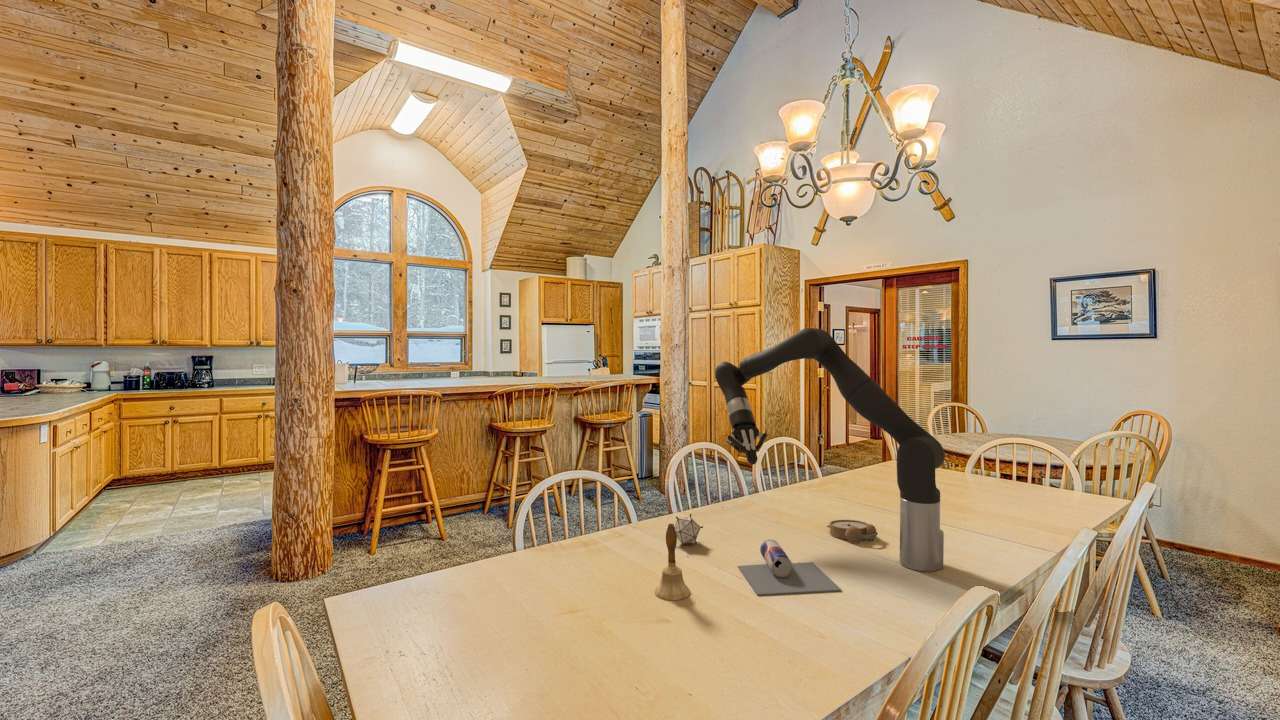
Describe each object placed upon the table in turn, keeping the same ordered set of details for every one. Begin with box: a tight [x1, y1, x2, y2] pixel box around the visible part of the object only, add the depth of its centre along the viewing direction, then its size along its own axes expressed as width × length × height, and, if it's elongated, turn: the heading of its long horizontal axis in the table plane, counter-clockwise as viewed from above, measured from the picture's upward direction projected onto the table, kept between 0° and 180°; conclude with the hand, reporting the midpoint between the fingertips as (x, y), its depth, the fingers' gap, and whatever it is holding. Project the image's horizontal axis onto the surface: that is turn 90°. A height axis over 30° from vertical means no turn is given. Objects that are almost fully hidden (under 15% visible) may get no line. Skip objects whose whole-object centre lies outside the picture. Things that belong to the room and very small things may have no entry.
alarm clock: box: [826, 519, 879, 544], centre depth 161 cm, size 11×5×15 cm
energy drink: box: [759, 539, 793, 577], centre depth 138 cm, size 5×5×12 cm
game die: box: [674, 513, 704, 547], centre depth 156 cm, size 9×8×10 cm
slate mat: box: [737, 561, 842, 597], centre depth 133 cm, size 20×16×1 cm
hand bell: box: [654, 523, 691, 601], centre depth 126 cm, size 8×8×16 cm
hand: (753, 463), depth 161 cm, fingers closed
